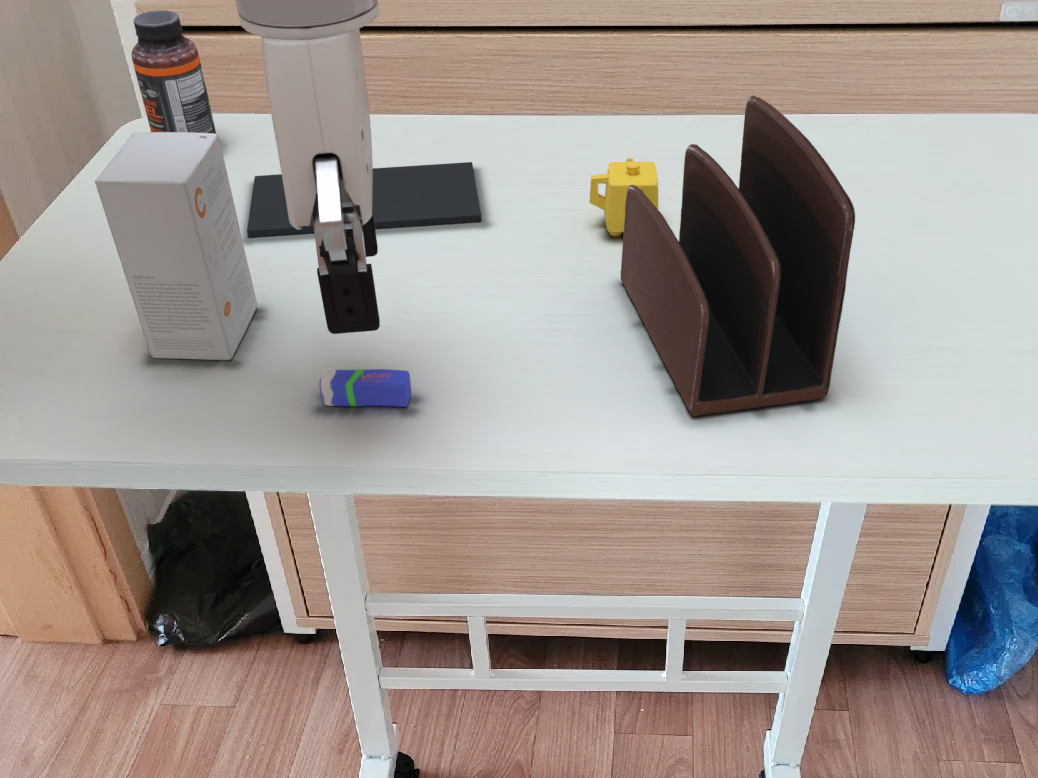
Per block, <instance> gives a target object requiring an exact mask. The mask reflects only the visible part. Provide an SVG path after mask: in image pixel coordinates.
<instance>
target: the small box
mask: <svg viewBox="0 0 1038 778" xmlns="http://www.w3.org/2000/svg"><path fill="white" fill-rule="evenodd" d="M223 154H224V153H223V149H222V144H221V141H220V136H219V134H218V133H216V134H213V133H190V132H151V131H149V132H148V131H147V132H144V131H143V132H133V133H132V134H131V135H130V136H129V138H128V139H127V140H126V142H124V144H123V145H122V147H120V149H119V150H118V151H117V153H116V154H115V155H114V157H113V158H112V159H111V160H110V162H109V163H108V164H107V165H106V167H105V168H104V169H103V170H102V171H101V173H100V174H99V175H98V177H97V178H96V179H95V180H94V184H95V187H96V190H97V193H98V196H99V199H100V202H101V205H102V209H103V211H104V214H105V217H106V221H107V224H108V227H109V230H110V233H111V236H112V239H113V243H114V245H115V248H116V251H117V255H118V258H119V261H120V264H121V267H122V271H123V273H124V276H125V280H126V282H127V285H128V288H129V292H130V295H131V298H132V301H133V305H134V307H135V310H136V313H137V317H138V320H139V323H140V326H141V329H142V332H143V335H144V339H145V342H146V345H147V348H148V351H149V354H150V356H151V357H152V358H153V359H179V360H181V359H182V360H208V361H211V360H212V361H213V360H214V361H230V360H232V359H233V358H234V357H233V356H234V354H235V352H236V351H237V349H238V347H239V345H240V342H241V341H242V339H243V337H244V334H245V333H246V331H247V329H248V326H249V324H250V322H251V320H252V318H253V316H254V314H255V312H256V310H257V308H258V305H259V304H258V300H257V297H256V293H255V288H254V284H253V280H252V274H251V272H250V271H251V270H250V267H249V263H248V259H247V255H246V250H245V246H244V242H243V237H242V233H241V227H240V224H239V223H240V222H239V219H238V215H237V211H236V206H235V202H234V197H233V192H232V187H231V183H230V179H229V175H228V171H227V166H226V162H225V158H224V155H223Z"/></svg>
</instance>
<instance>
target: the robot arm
mask: <svg viewBox="0 0 1038 778" xmlns="http://www.w3.org/2000/svg"><path fill="white" fill-rule="evenodd" d="M235 6H236V11H237V14H238V19H239V24H240V26H241V29H244V30H245V32H247V33H249V34H251V35H254V36H257V37H260V39H261V49H262V50H261V51H262V58H263V67H264V75H265V81H266V90H267V94H268V95H267V97H268V102H269V103H268V104H269V108H270V109H269V110H270V114H271V120H272V126H273V132H274V137H275V143H276V144H275V145H276V150H277V154H278V155H277V156H278V161H279V166H280V167H279V168H280V174H282V179H283V185H284V191H285V198H286V204H287V210H288V217H289V222H290V224H291V225H292V226H293V227H294V228H296V229H297V230H301V229H302V226H309V225H310V221H311V217H312V216H313V225H314V233H313V234H314V241H315V248H316V257H317V265H318V266H317V268H316V275H317V281H318V285H319V289H320V296H321V301H322V306H323V307H322V308H323V312H324V317H325V323H326V327H327V331H328V332H329V333H330V334H333V335H337V334H351V333H363V332H375V331H377V330H379V329H380V326H381V321H380V314H379V306H378V300H377V293H376V287H375V286H376V285H375V280H374V279H375V278H374V273H373V272H374V271H373V265H372V263H368V262H367V258H370V257H371V258H372V257H376V256H377V255H378V252H379V249H378V247H379V245H378V239H377V232H376V229H375V224H374V217H373V210H372V189H373V168H374V167H373V161H374V160H373V141H372V127H371V115H370V105H369V96H368V95H369V94H368V87H367V80H366V78H367V77H366V71H365V63H364V61H365V60H364V56H363V55H364V54H363V47H362V39H361V31H360V29H362V28H364V27H366V26H367V25H369V24H371V23H373V21H374V20H375V19H377V18H378V16H379V14H380V7H379V6H380V5H379V0H235Z"/></svg>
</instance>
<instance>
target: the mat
mask: <svg viewBox="0 0 1038 778" xmlns="http://www.w3.org/2000/svg"><path fill="white" fill-rule="evenodd" d="M474 171H475V170H474V165H473V162H472V161H467V162H466V161H465V162H451V163H450V162H449V163H435V164H421V165H419V164H418V165H406V166H405V165H403V166H388V167H373V189H372V210H373V217H374V224H375V230H377V229H389V228H405V227H418V226H431V225H432V226H434V225H435V226H436V225H449V224H462V223H463V224H464V223H479V222H482V214H481V207H480V201H479V194H478V189H477V183H476V177H475V172H474ZM246 233H247V237H248V238H254V237H255V238H257V237H271V236H285V235H299V234H315V233H314V225H313V216H312V217H311V221H310V225H309V226H302V229H301V230H297V229H296V228H294V227H293V226H292V225H291V224H290V222H289V217H288V210H287V204H286V198H285V191H284V185H283V179H282V173H278V174H266V175H265V174H264V175H254V179H253V186H252V192H251V200H250V206H249V213H248V222H247V229H246Z"/></svg>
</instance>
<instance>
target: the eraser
mask: <svg viewBox="0 0 1038 778" xmlns="http://www.w3.org/2000/svg"><path fill="white" fill-rule="evenodd" d="M318 386H319V391H320V396H321V400H322V404H323V405H325V406H329V407H404V408H406V407H407V406H408V405H409V402H410V399H411V394H412V385H411V376H410V371H408V370H405V369H404V370H403V369H386V368H385V369H384V368H371V369H370V368H369V369H368V368H367V369H329V368H327V369H323V371H322V374H321V377H320V379H319V385H318Z"/></svg>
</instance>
